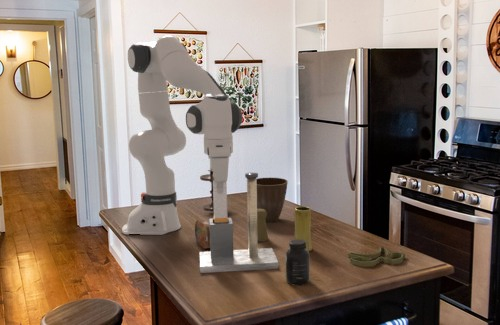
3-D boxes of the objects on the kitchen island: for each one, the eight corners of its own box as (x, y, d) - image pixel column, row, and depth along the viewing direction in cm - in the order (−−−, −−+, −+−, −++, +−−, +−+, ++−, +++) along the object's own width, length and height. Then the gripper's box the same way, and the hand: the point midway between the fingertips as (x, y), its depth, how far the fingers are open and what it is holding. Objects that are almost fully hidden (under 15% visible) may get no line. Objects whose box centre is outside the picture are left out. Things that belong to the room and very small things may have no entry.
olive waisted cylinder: (266, 241, 199) (266, 211, 197) (250, 241, 200) (249, 211, 198) (269, 236, 204) (269, 207, 203) (253, 236, 206) (252, 207, 204)
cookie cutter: (387, 251, 187) (387, 245, 187) (411, 262, 176) (411, 256, 176) (341, 259, 180) (341, 253, 180) (363, 271, 169) (363, 265, 169)
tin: (194, 240, 203) (193, 217, 201) (202, 238, 204) (202, 216, 202) (207, 252, 189) (206, 228, 187) (215, 251, 190) (215, 227, 188)
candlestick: (196, 208, 248) (193, 130, 242) (215, 203, 255) (212, 127, 249) (211, 212, 240) (209, 131, 234) (230, 207, 247) (228, 129, 242)
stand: (200, 272, 170) (196, 180, 165) (199, 257, 183) (196, 171, 178) (278, 268, 172) (277, 177, 167) (272, 253, 186) (270, 168, 181)
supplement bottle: (284, 277, 165) (284, 238, 163) (307, 276, 165) (307, 237, 163) (287, 286, 158) (287, 245, 156) (311, 285, 158) (311, 244, 156)
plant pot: (295, 220, 225) (295, 181, 223) (265, 226, 217) (264, 186, 214) (273, 212, 238) (272, 176, 235) (244, 218, 229) (243, 180, 227)
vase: (313, 247, 191) (313, 206, 189) (309, 252, 186) (309, 211, 183) (296, 245, 193) (296, 205, 191) (291, 251, 188) (291, 210, 185)
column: (214, 240, 173) (212, 176, 170) (214, 236, 178) (212, 174, 174) (228, 239, 174) (226, 176, 170) (227, 235, 178) (225, 173, 175)
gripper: (207, 143, 181) (208, 184, 183) (209, 152, 161) (210, 199, 163) (226, 142, 181) (227, 184, 184) (231, 151, 161) (232, 198, 164)
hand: (219, 191), depth 173 cm, fingers closed on column, 4 cm apart
